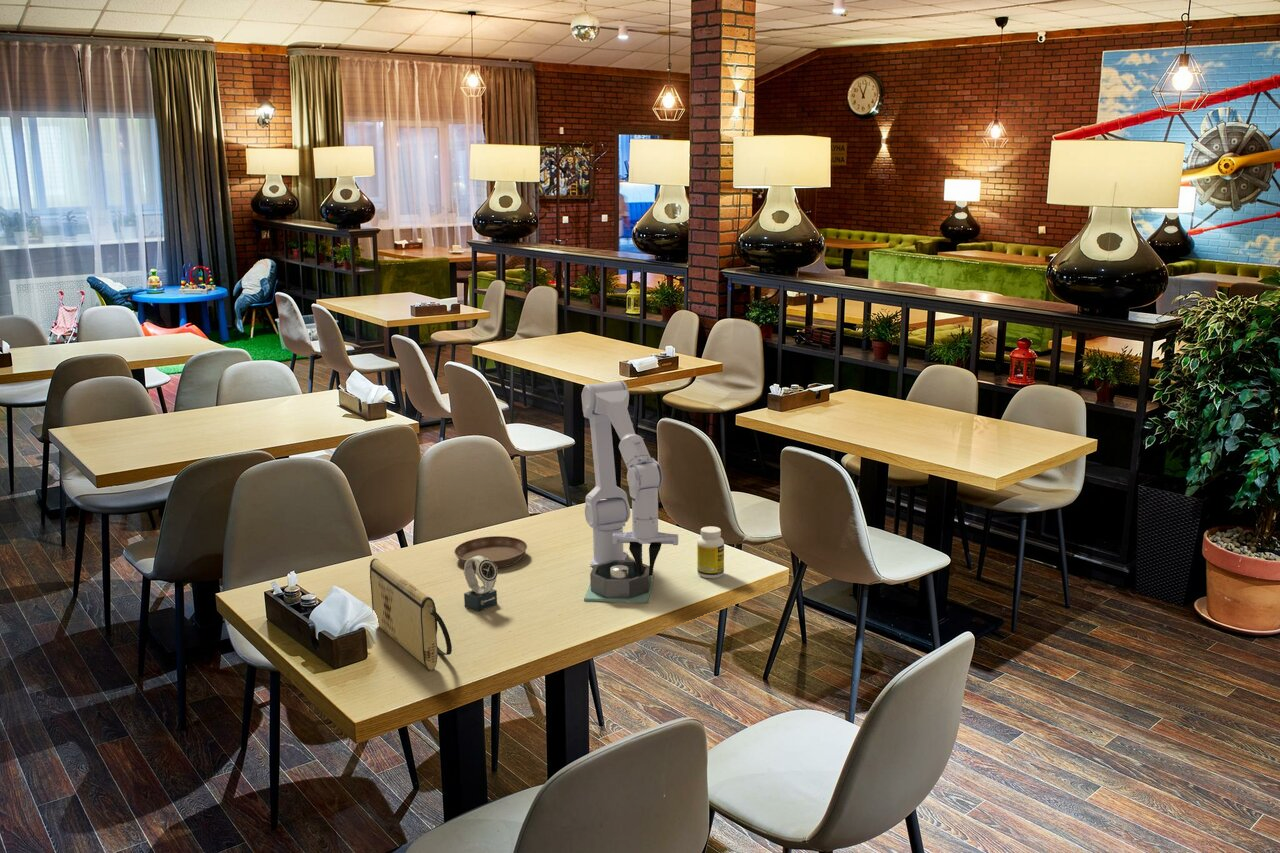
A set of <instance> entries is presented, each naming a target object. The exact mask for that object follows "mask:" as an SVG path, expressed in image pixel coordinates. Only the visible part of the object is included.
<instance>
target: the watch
mask: <svg viewBox="0 0 1280 853" xmlns="http://www.w3.org/2000/svg"><path fill="white" fill-rule="evenodd" d="M474 560H475V565H476V568H475V570H474V568H472V563H473V561H474ZM463 568H464V572H463V573H464V574H463V575H464V577H465V581H466V583H467V585H468V588H469V589H471V590H469V591H466V592H464V593H463V596H464V597H463V600H464V607H465V608H467V609H470V610H471V611H472V610H473V611H475V612H480V611H483V610H486V609H487V608H490V607H493V606H496V605H498V596H497V595H498V594H497V590H496V589H494V587H495V585H496V582H497V576H498V574H499V573H498V568H497V566H496V565H495V564H494V563H493V562H492V561H491V560H489V559H487V558H485V557H483V556H475V557H473V558H470V559H468V560H467V561H466V562H465V564H464V567H463ZM476 576H477V577H476ZM477 578H478V579H479V580H480V581H481V583H482V584H483V585H482V586H480V585H479V581H478V579H477ZM485 608H486V609H485Z"/></svg>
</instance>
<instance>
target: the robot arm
mask: <svg viewBox="0 0 1280 853" xmlns="http://www.w3.org/2000/svg"><path fill="white" fill-rule="evenodd" d="M629 400H630V390H629V387H628V385H627V383H626V382H625V381H624V380H617V381H610V382H608V381H607V382H600V383H586V384H585V385H584V387H583V389H582V392H581V404H582V413H583V417H584V418H586V419H588V420H589V425H590V427H589V428H590V436H591V449H592V457H593V468H594V469H593V470H594V480H595V486H594V488H592V489H591V491H590V492H588V493H587V494H586V495H585V507H584V517H585V520H586V523H587V524H588V526H589V527H591V528H592V539H593V540H592V541H593V542H592V543H593V544H592V545H593V547H592V548H593V549H592V550H593V556H592V559H591V561H590V564H589V565H590V567H591V566H592V567H593V566H594V565H598V564H601V563H604V562H608V561H611V560H626V559H627V556H628V551H625V550H624V544H629V546H628V549H629V552H630V554H631V556H632V557H633V560H635V562H636V565H637V568H638V573H639V575H640V576H641V575H642V574H643V564H644V563H643V544H644V545H647V544H649V547H648V555H649V556H648V557H649V558H648V560H649V565H648V566H649V576H651V577H653V575H654V568H655V563H656V560H657V558H658V555H659V553H660V551H661V547H662V545H673V546H678V545H679V534H678V533H668V532H660V531H659V494H658V493H659V488H660V487H661V486H662V484H663V471H662V468H661V465H660V463H659V462H658V461H657V460H656V459H655V458H654V457H651V454H650V453H649V450H648V448H647V446H646V444H645V442H644V439H643V437H642V436H641V435H638V434H636V432H635V429H634V426H633V423H632V420H631V416H630V412H629V410H628V407H629V402H630V401H629ZM612 426H613V428H614V429H615V432H616V434H617V436H618V438H619V440H620V441H619V444H618V449H619V451H620V454H621V457H622V459H623V461H624V464H625V467H626V469H627V474H626V480H627V485H628V489H629V491H628V492H629V495H630V497H631V507H630V503H629V500H628V494H627V492H626V491H625V490H623V489H622V488H620V487H619V486H617V480H616V479H617V478H616V466H615V465H616V464H615V454H614V446H613V445H614V444H613V434H612V432H613V431H612ZM631 510H632V511H631ZM631 512H632V514H631ZM631 515H632V516H631ZM631 517H632V518H631ZM630 518H631V520H632V521H631V522H632V525H631V526H632V531H627V532H626V531H625V532H624V527H626V523H627V522H629V520H630Z"/></svg>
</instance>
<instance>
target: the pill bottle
mask: <svg viewBox="0 0 1280 853" xmlns="http://www.w3.org/2000/svg"><path fill="white" fill-rule="evenodd" d="M721 536H722V530H721V528H720V527H718V526H710V525H709V526H703V527H702V528H700V537H699V538H698V539H697V544H696V546H697V548H696V549H697V550H696V551H697V552H696V553H697V560H696V561H697V562H696V564H697V567H696V569H697V574H698V576H699V577H701V578H704V579H705V578H706V579H718V578H721V577H722V576H723V575H724V572H725V541H724V539H723V538H722V537H721Z"/></svg>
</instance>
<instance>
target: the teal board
mask: <svg viewBox="0 0 1280 853" xmlns="http://www.w3.org/2000/svg"><path fill="white" fill-rule="evenodd" d="M628 579H631V578H628ZM654 580H655V579H654V576H651V585H650V589H649V592H648V593H645V594H642V595H639V596H636V597H633V598H604V597H602V596H600V595H598V594H596V593H594V592H592V591H591V582H590V583H589V585H588V587H587V589H586V592H585V595H584V597H583V601H584V602H608V603H609V602H610V603H611V602H612V603H614V602H615V603H640V602H647V603H648V602H649V600H650V594H651V590H652V587H653V584H652V583H654Z"/></svg>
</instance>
